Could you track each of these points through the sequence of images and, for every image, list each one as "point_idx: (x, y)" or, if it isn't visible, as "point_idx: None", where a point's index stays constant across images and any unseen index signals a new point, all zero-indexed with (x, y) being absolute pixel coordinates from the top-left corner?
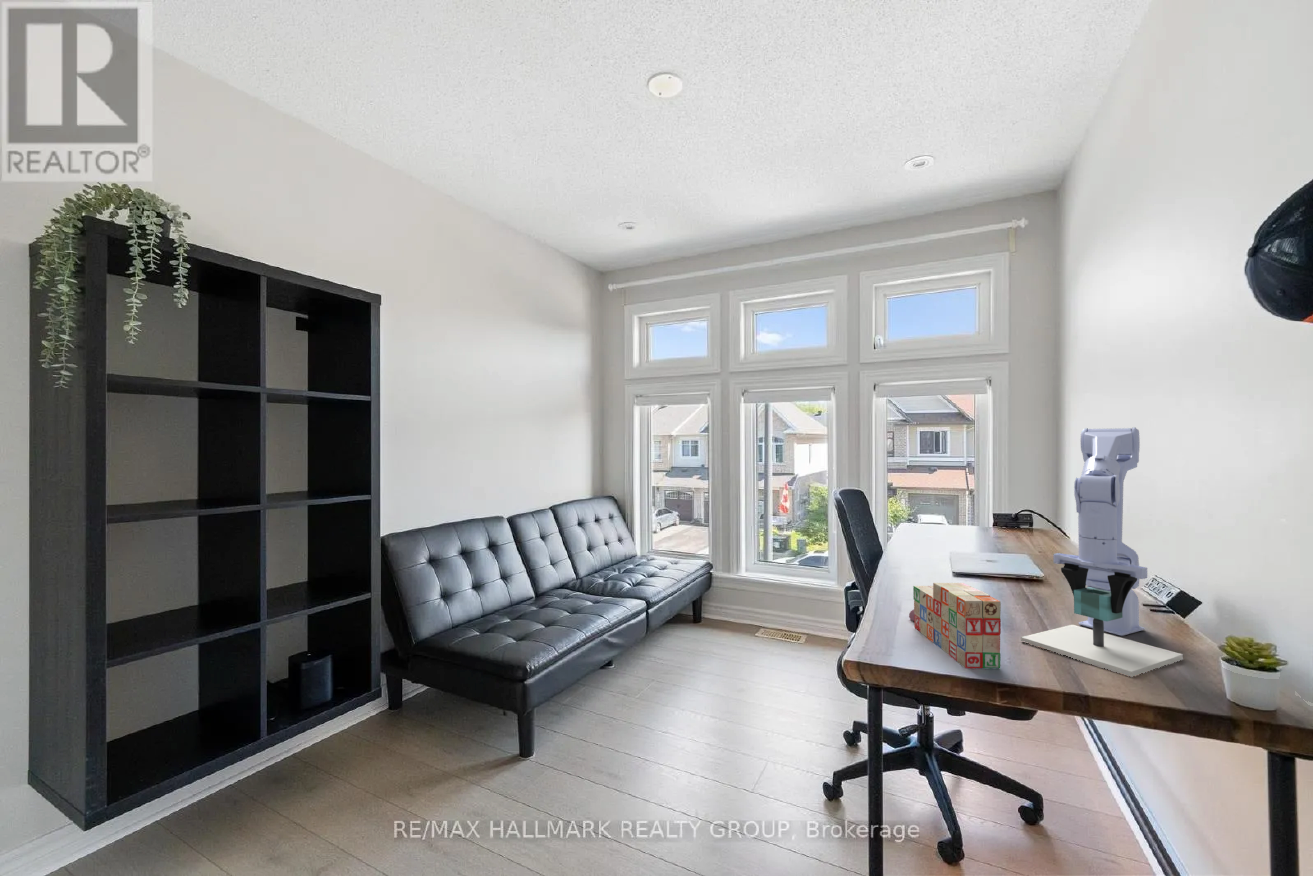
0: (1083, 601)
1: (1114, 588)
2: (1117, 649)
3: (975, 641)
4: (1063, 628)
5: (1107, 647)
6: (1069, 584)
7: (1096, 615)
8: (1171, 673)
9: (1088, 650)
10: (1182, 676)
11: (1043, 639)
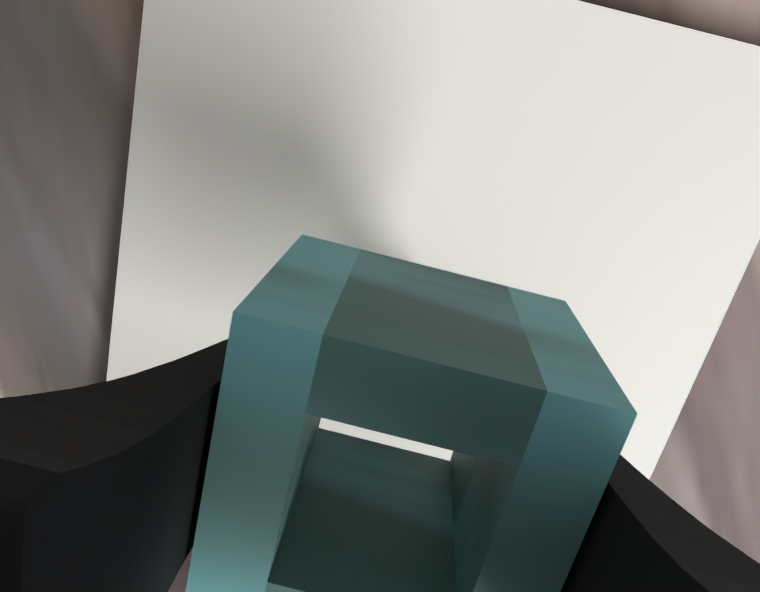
0: (501, 330)
1: (91, 413)
2: None
3: None
4: None
5: None
6: (723, 543)
7: (381, 265)
8: (78, 191)
9: (429, 138)
10: (35, 184)
11: (695, 143)
